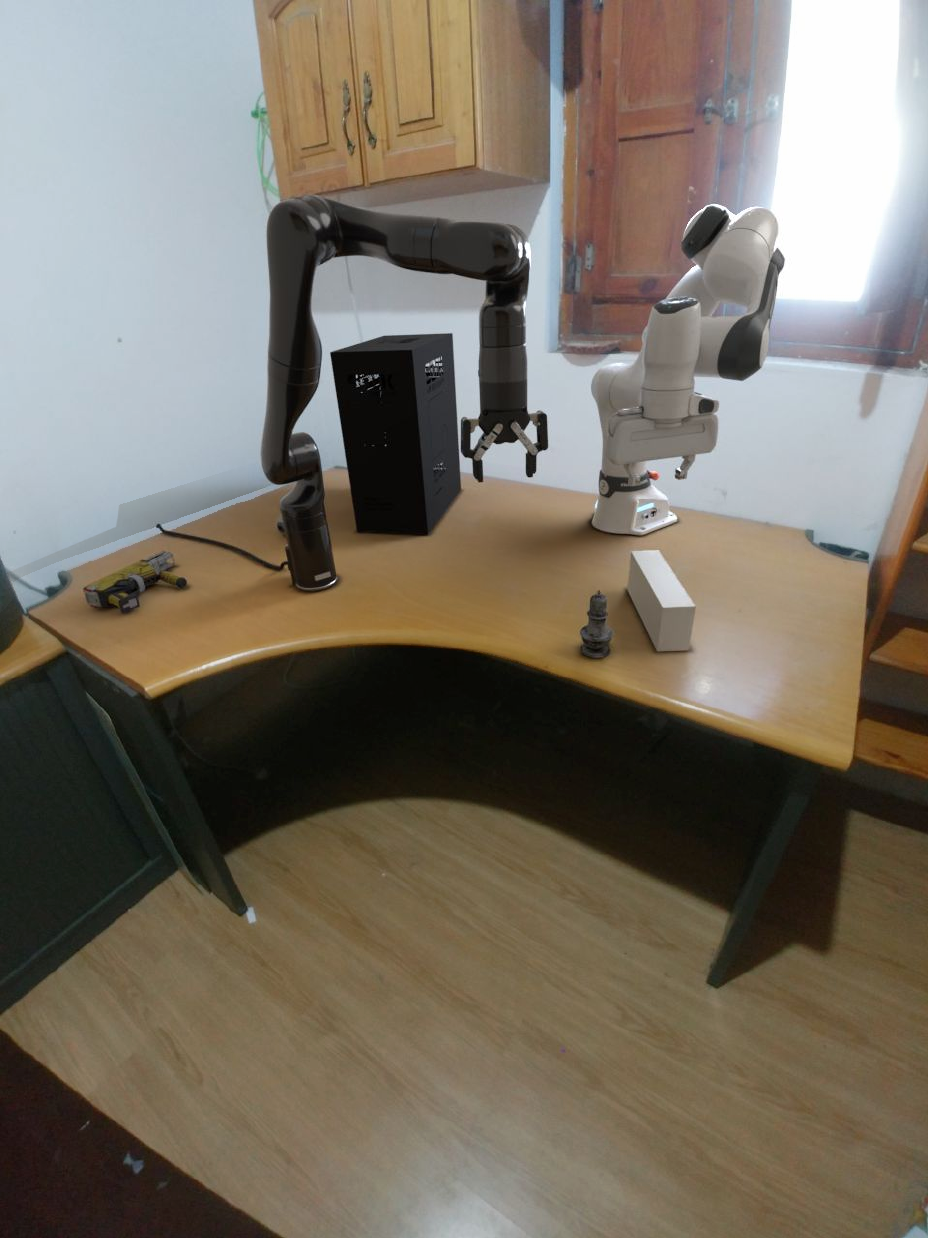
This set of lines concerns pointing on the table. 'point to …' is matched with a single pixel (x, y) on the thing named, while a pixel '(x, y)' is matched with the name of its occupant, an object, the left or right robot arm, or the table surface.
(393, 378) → the cardboard box
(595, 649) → the dark grey chess piece
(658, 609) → the bar
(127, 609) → the toy gun
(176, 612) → the table surface
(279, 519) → the eyeball
